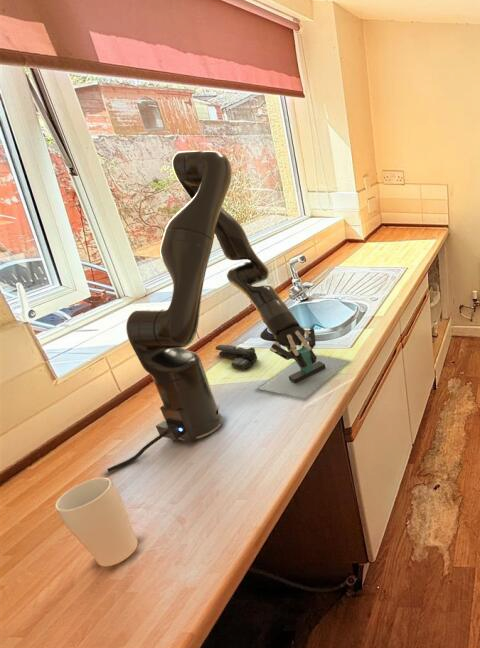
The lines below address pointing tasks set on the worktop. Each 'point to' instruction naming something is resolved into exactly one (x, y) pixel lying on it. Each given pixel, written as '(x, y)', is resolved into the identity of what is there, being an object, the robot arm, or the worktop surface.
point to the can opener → (238, 355)
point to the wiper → (309, 369)
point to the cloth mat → (308, 384)
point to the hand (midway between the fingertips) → (310, 364)
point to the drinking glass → (98, 520)
